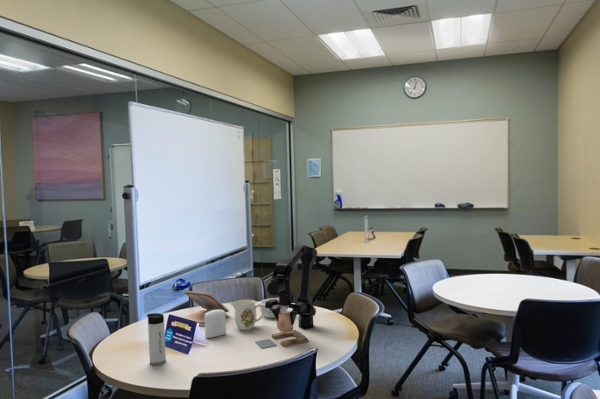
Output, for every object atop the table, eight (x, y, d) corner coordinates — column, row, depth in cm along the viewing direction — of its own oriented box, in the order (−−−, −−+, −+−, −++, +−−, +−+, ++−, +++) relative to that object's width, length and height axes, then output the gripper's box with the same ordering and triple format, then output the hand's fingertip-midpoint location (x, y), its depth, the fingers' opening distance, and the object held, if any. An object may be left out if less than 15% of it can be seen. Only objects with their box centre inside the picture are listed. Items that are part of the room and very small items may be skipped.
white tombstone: (223, 332, 211) (222, 307, 211) (227, 334, 208) (226, 309, 207) (203, 336, 206) (202, 311, 205) (207, 339, 202) (206, 313, 202)
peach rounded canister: (283, 326, 202) (282, 310, 201) (296, 328, 198) (295, 312, 198) (272, 333, 193) (271, 316, 193) (285, 335, 190) (284, 318, 190)
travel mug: (151, 359, 180) (149, 312, 179) (167, 358, 180) (165, 311, 180) (147, 365, 174) (144, 316, 173) (164, 364, 174) (161, 315, 174)
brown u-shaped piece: (295, 332, 207) (295, 329, 207) (308, 341, 194) (308, 338, 194) (271, 337, 202) (271, 334, 202) (283, 346, 189) (283, 343, 189)
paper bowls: (254, 317, 233) (253, 303, 233) (270, 310, 246) (270, 296, 246) (277, 321, 225) (277, 306, 225) (293, 313, 238) (292, 299, 238)
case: (231, 316, 237) (229, 287, 237) (203, 327, 220) (202, 296, 219) (204, 312, 248) (203, 284, 248) (175, 322, 231) (174, 292, 230)
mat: (269, 339, 199) (269, 338, 199) (276, 345, 191) (276, 345, 191) (255, 342, 196) (255, 341, 196) (261, 348, 188) (261, 348, 188)
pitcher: (268, 327, 215) (267, 300, 215) (233, 334, 208) (232, 305, 207) (261, 321, 225) (259, 295, 225) (227, 327, 218) (226, 300, 217)
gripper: (310, 287, 199) (312, 321, 200) (276, 284, 208) (277, 316, 209) (299, 293, 189) (300, 328, 190) (263, 290, 198) (265, 323, 199)
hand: (286, 324), depth 197 cm, fingers closed on peach rounded canister, 7 cm apart
